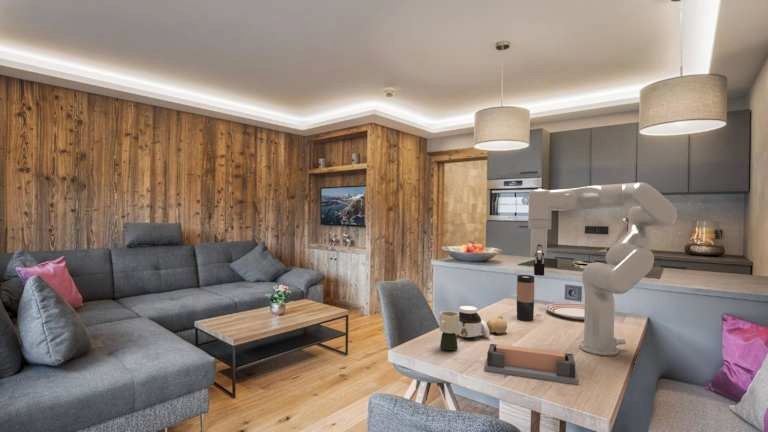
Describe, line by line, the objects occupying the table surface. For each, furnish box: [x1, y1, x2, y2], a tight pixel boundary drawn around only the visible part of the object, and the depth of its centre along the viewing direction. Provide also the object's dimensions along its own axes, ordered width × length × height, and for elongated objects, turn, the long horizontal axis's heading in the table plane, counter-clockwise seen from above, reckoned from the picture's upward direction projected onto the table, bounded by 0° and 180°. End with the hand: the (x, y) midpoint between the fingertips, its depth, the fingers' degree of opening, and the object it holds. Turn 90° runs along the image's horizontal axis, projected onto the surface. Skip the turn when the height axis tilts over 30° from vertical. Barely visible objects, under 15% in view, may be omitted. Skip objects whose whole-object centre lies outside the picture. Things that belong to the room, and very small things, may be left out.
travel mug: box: [516, 274, 535, 322], centre depth 183 cm, size 8×8×20 cm
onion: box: [486, 314, 508, 335], centre depth 163 cm, size 8×8×7 cm
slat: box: [496, 344, 565, 372], centre depth 124 cm, size 20×4×5 cm, turn 69°
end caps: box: [486, 343, 576, 378], centre depth 124 cm, size 25×9×4 cm, turn 69°
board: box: [483, 358, 580, 386], centre depth 124 cm, size 27×11×2 cm, turn 69°
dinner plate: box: [545, 302, 585, 321], centre depth 192 cm, size 27×27×3 cm
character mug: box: [438, 310, 459, 351], centre depth 143 cm, size 11×7×13 cm, turn 141°
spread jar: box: [456, 305, 491, 341], centre depth 157 cm, size 12×11×12 cm
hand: (538, 273), depth 139 cm, fingers open, 9 cm apart
